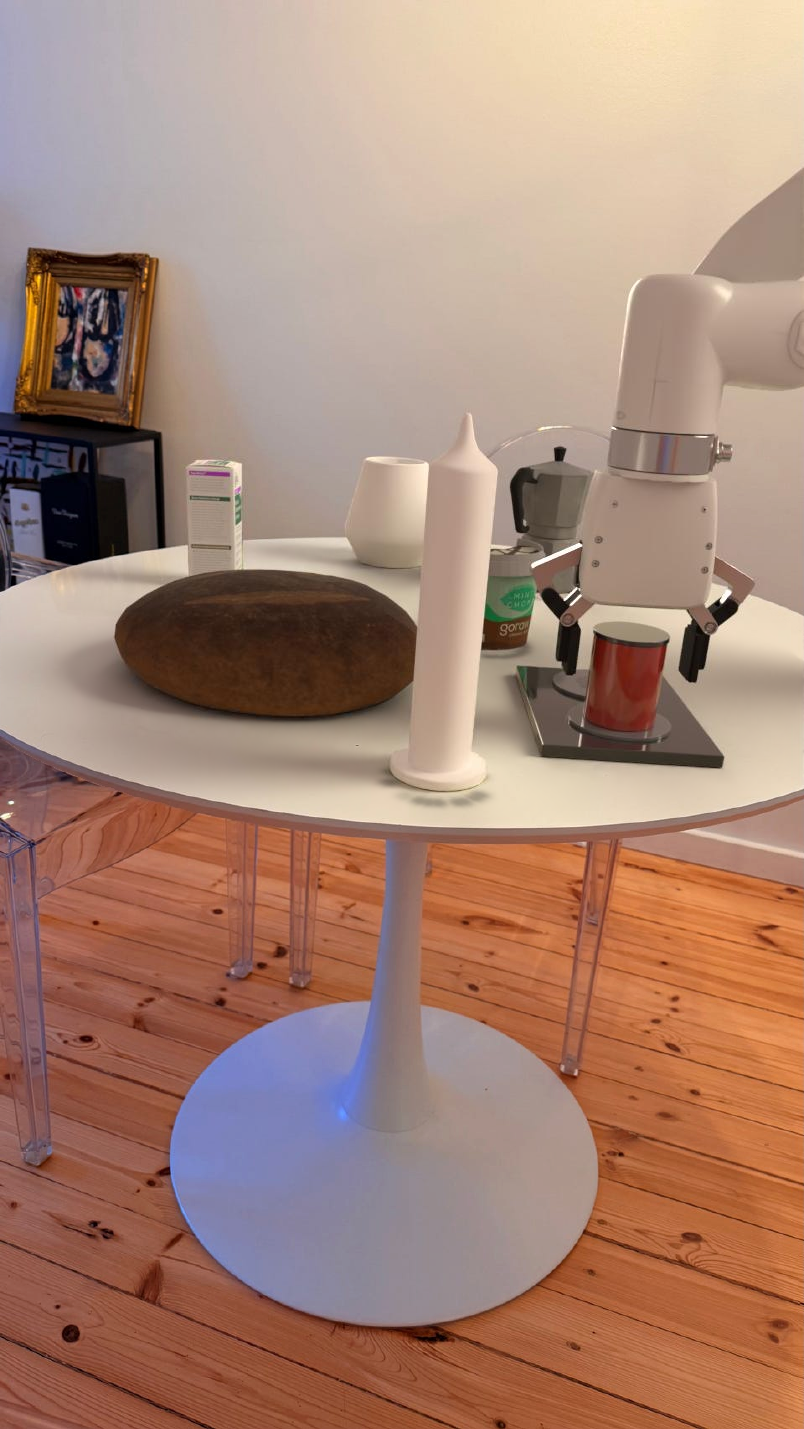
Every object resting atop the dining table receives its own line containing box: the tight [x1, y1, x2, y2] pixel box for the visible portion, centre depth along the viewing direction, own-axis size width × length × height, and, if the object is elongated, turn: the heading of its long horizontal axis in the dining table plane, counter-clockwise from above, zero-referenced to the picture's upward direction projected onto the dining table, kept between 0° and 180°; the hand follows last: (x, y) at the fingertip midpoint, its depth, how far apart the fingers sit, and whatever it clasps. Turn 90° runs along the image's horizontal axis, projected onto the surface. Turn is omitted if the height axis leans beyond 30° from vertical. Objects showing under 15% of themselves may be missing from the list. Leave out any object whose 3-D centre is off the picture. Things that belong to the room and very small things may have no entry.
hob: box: [515, 665, 725, 769], centre depth 85 cm, size 14×20×1 cm
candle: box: [389, 412, 499, 792], centre depth 67 cm, size 7×7×25 cm
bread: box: [113, 568, 417, 717], centre depth 90 cm, size 28×27×9 cm
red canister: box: [583, 621, 671, 731], centre depth 80 cm, size 6×6×7 cm
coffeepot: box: [509, 445, 594, 594], centre depth 128 cm, size 15×9×18 cm, turn 134°
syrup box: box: [185, 459, 244, 577], centre depth 119 cm, size 6×6×14 cm
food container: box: [481, 537, 546, 651], centre depth 103 cm, size 12×6×10 cm, turn 143°
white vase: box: [344, 456, 430, 569], centre depth 138 cm, size 13×13×14 cm
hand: (627, 673), depth 80 cm, fingers open, 9 cm apart
